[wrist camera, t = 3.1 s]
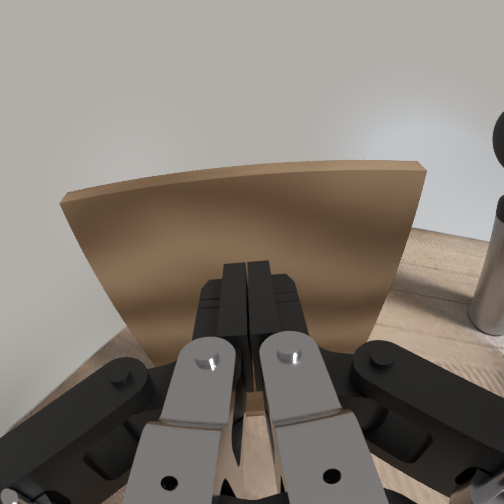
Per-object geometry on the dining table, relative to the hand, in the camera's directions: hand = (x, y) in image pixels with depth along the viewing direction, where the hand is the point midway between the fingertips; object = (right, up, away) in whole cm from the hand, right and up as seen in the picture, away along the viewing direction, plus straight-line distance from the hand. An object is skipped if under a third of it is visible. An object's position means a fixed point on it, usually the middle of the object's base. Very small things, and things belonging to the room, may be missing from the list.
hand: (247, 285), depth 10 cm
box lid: (0, -2, +9) cm, 9 cm away
